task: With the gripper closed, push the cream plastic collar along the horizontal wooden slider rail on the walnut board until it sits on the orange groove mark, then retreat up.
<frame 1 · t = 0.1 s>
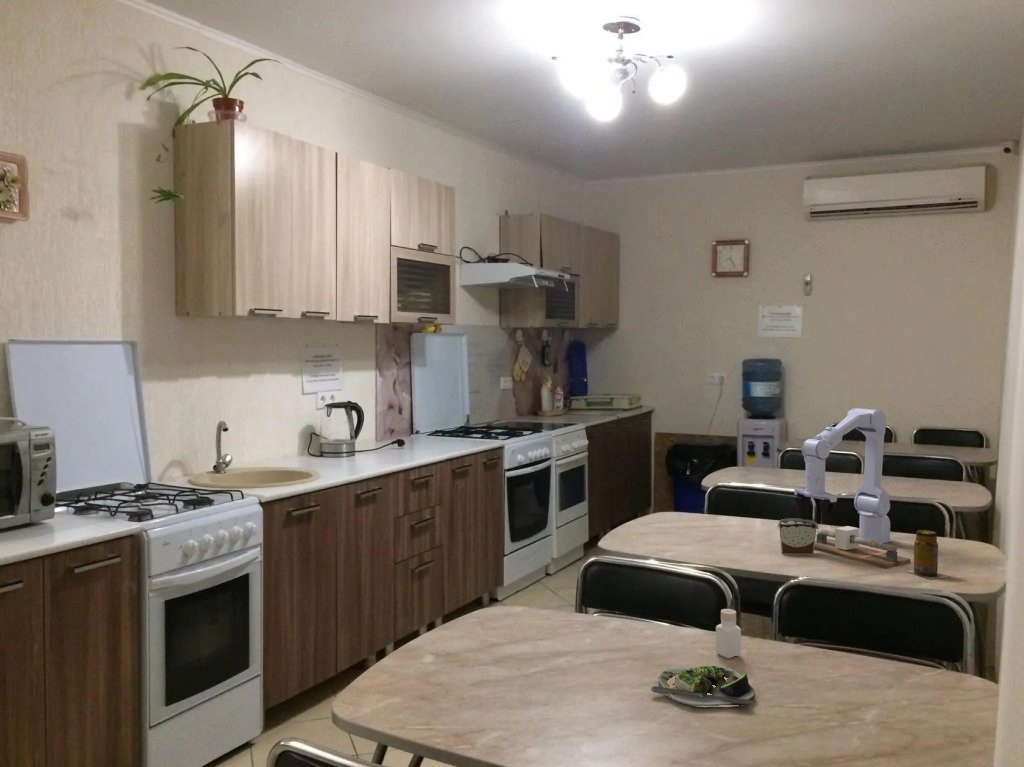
hand: (814, 521, 255), 10 cm above the table, fingers open, 7 cm apart
collar: (847, 537, 256), point 4 cm above the table, slide at -3.0 cm
food container: (795, 552, 257), on the table
salad plate: (708, 693, 157), on the table
condiment: (927, 575, 232), on the table
salt shaker: (728, 656, 174), on the table
wooden slider rail: (855, 554, 254), on the table
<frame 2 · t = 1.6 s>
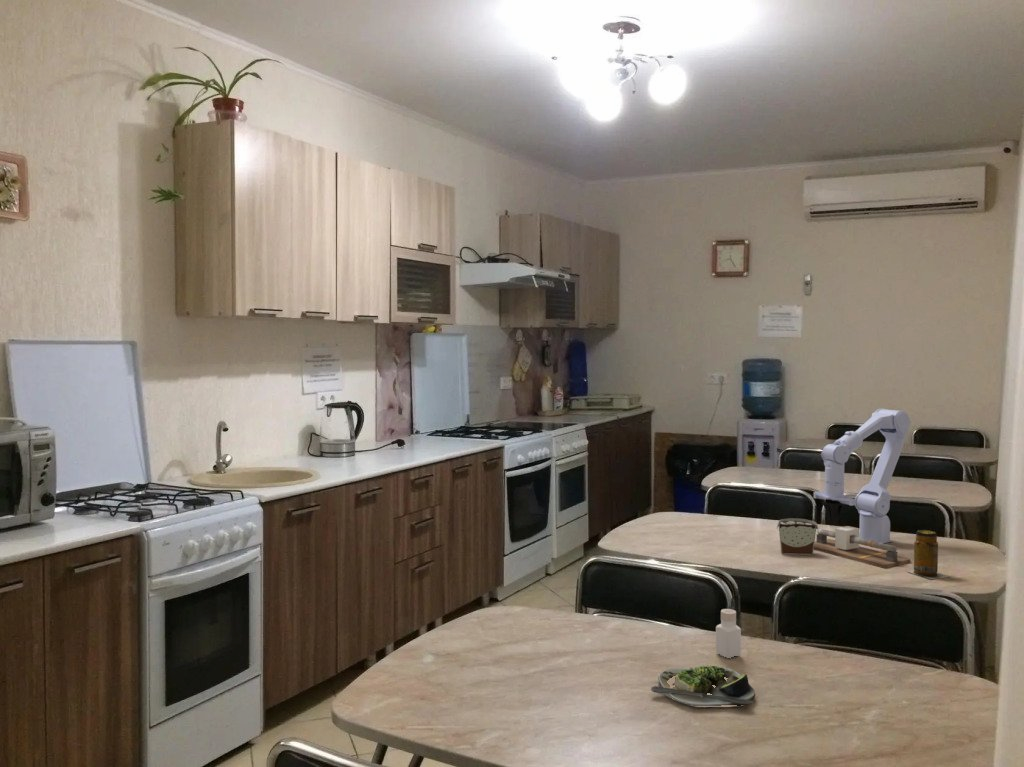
hand: (833, 524, 263), 7 cm above the table, fingers closed
nothing on the table moved.
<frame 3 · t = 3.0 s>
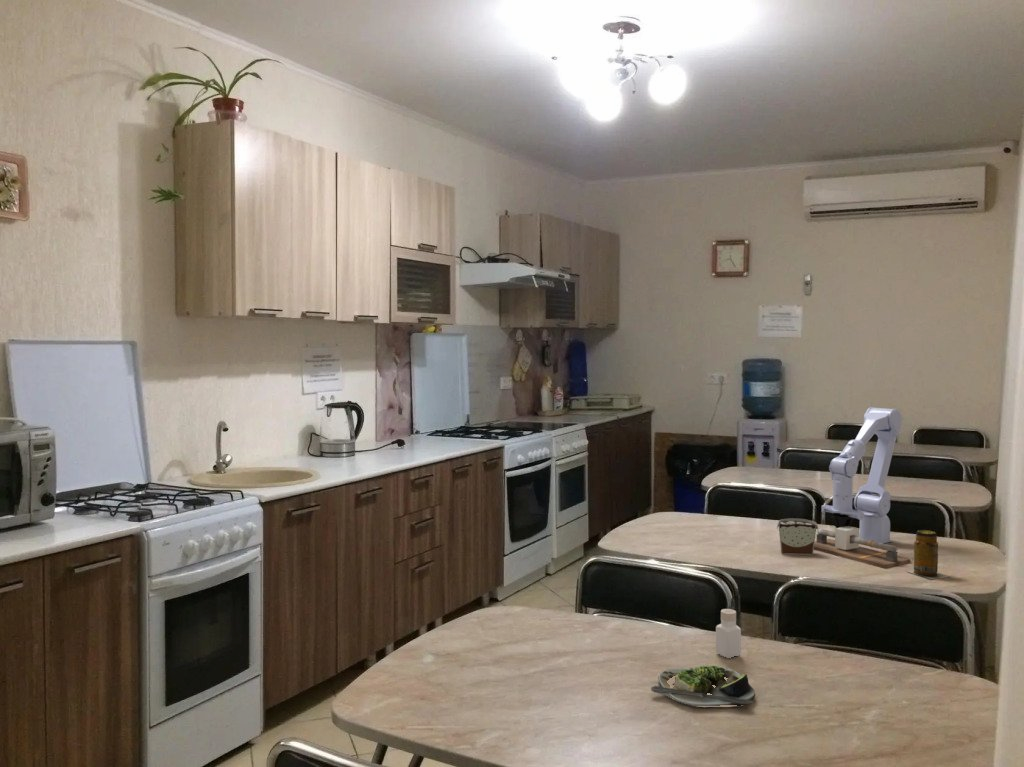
hand: (842, 537, 261), 3 cm above the table, fingers closed
collar: (847, 537, 256), point 4 cm above the table, slide at -3.0 cm, touching gripper
everything else where it was.
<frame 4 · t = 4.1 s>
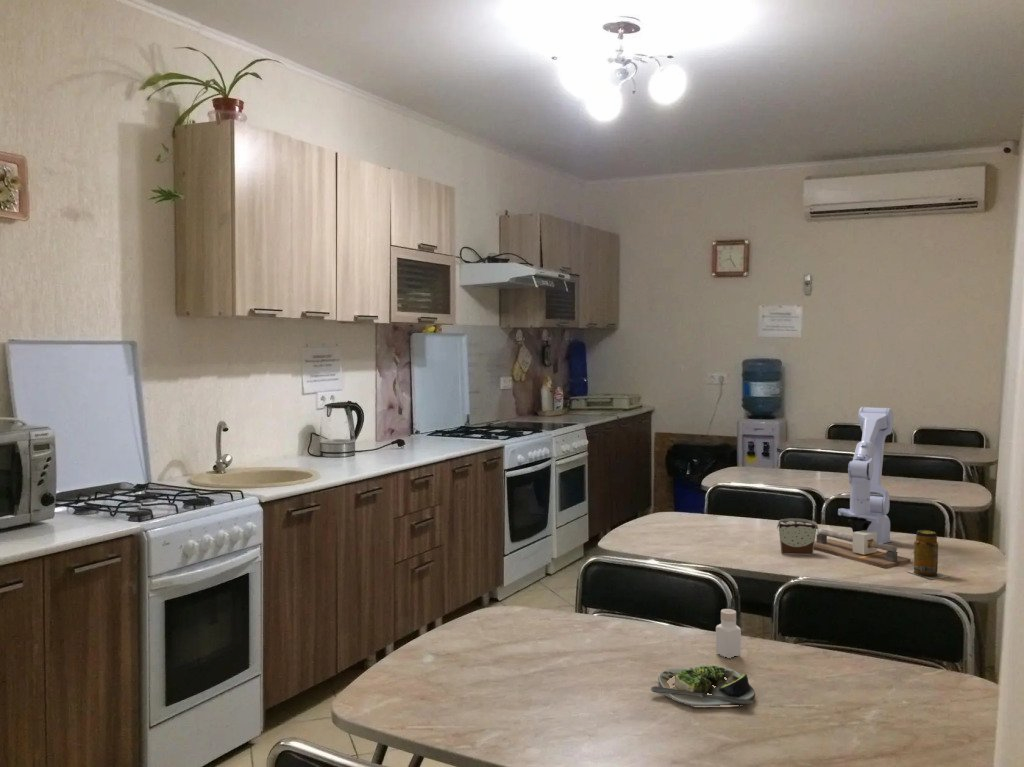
hand: (859, 541, 255), 3 cm above the table, fingers closed
collar: (864, 542, 251), point 4 cm above the table, slide at 3.3 cm, touching gripper
everything else where it was.
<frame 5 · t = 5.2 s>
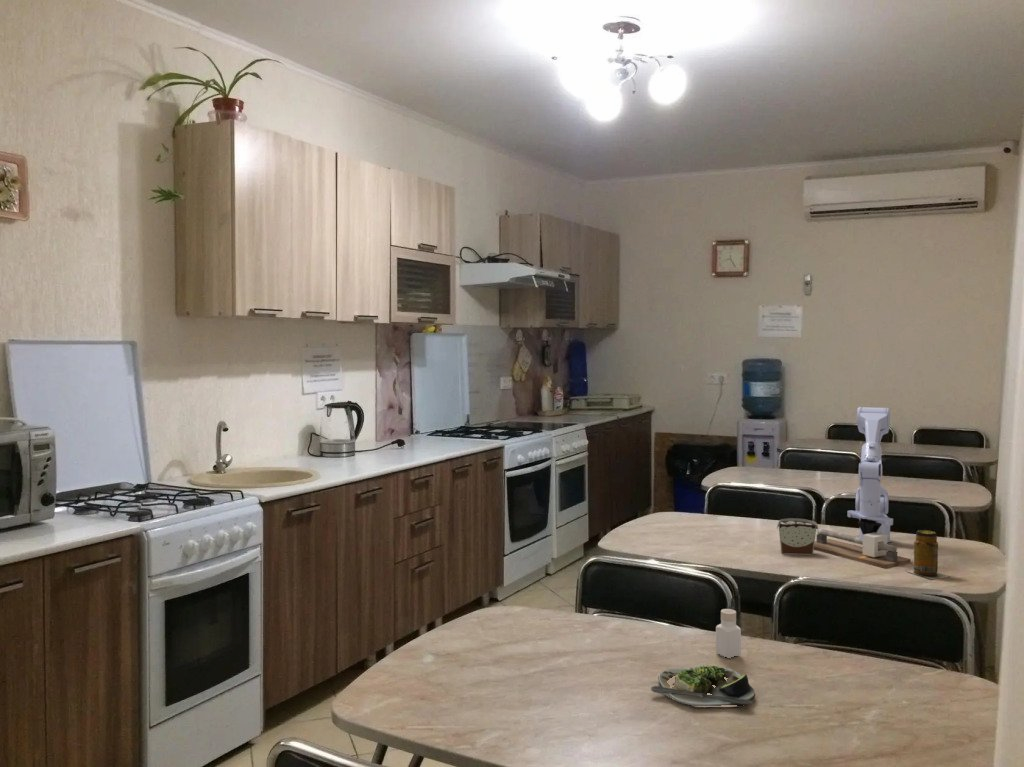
hand: (869, 544, 252), 3 cm above the table, fingers closed
collar: (874, 544, 248), point 5 cm above the table, slide at 6.8 cm, touching gripper
everything else where it was.
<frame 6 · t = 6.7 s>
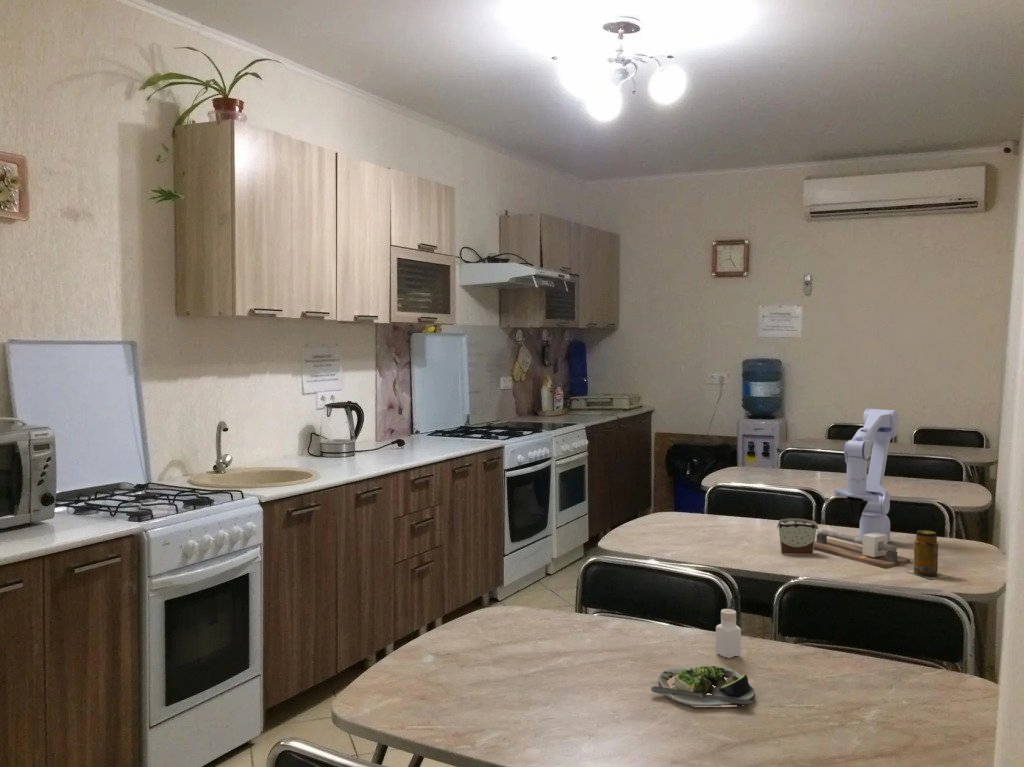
hand: (855, 521, 257), 9 cm above the table, fingers closed
collar: (874, 544, 248), point 5 cm above the table, slide at 6.8 cm
everything else where it was.
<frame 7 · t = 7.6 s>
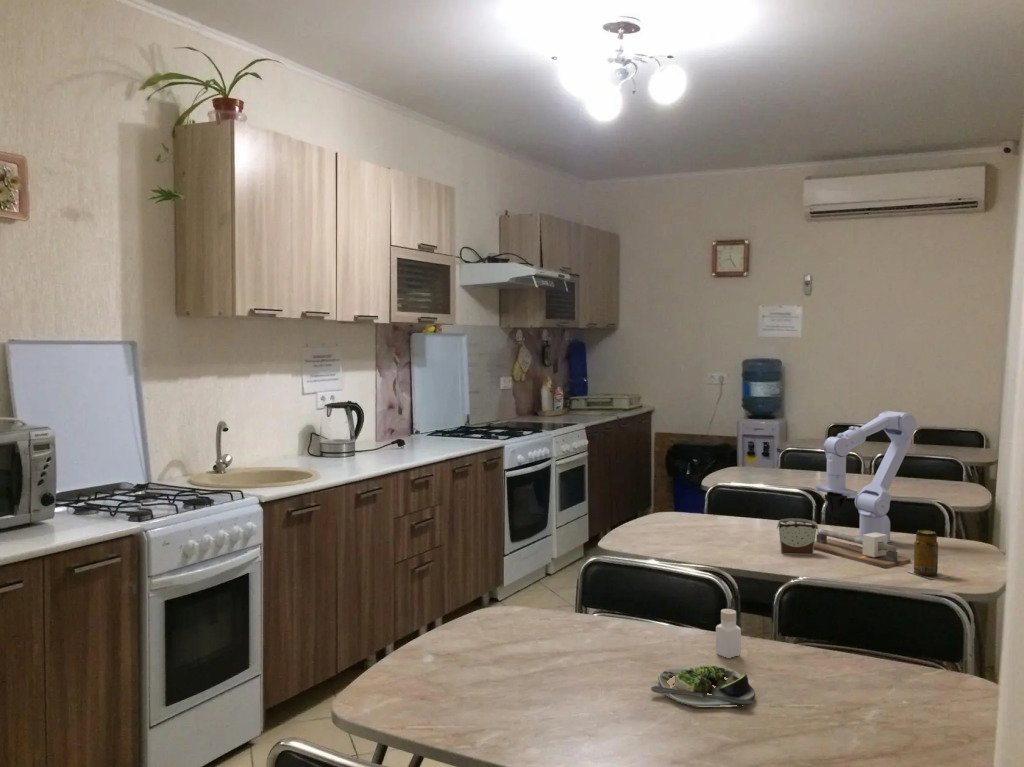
hand: (835, 516, 264), 9 cm above the table, fingers closed
nothing on the table moved.
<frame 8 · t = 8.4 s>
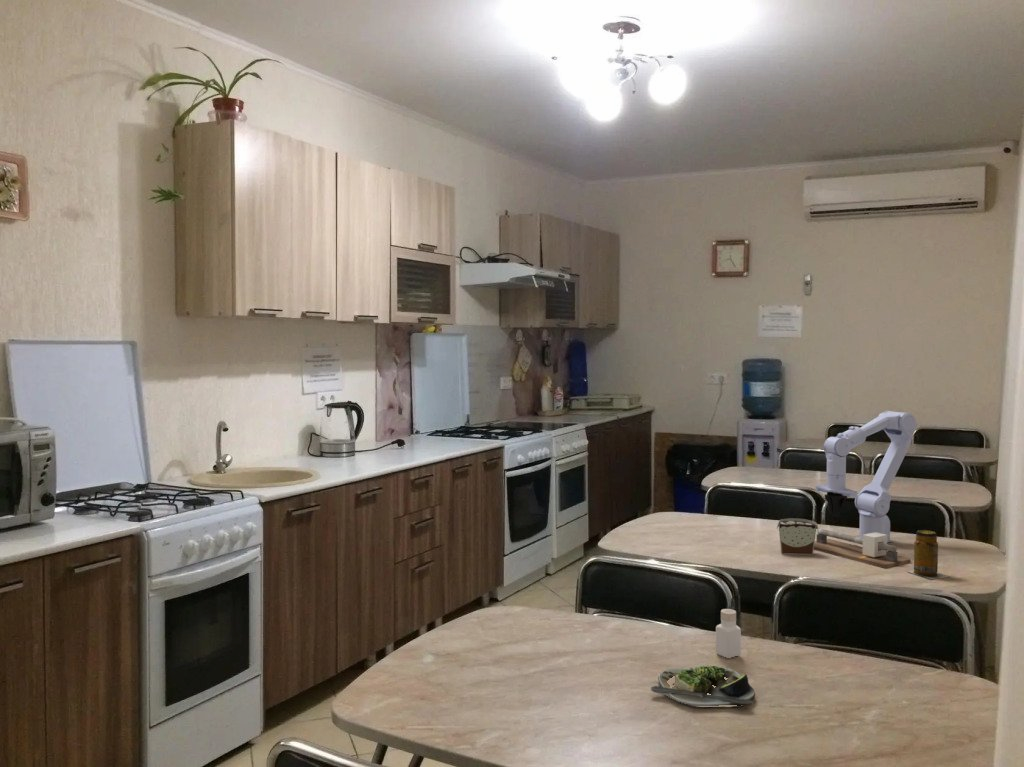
hand: (835, 516, 264), 9 cm above the table, fingers closed
nothing on the table moved.
at the end: collar slide at 6.8 cm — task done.
